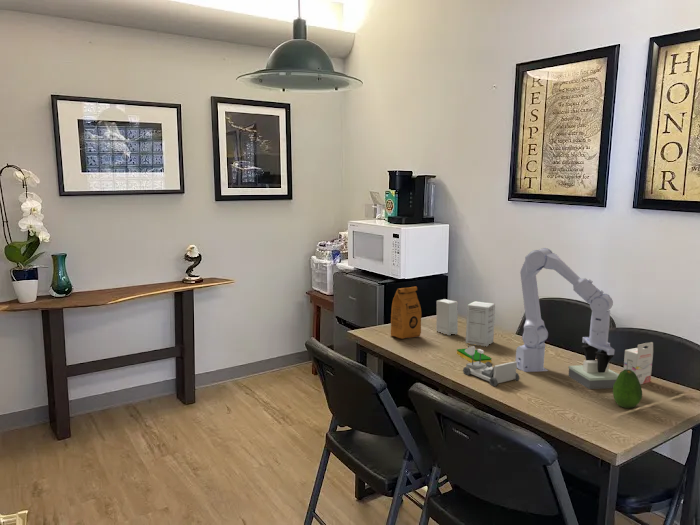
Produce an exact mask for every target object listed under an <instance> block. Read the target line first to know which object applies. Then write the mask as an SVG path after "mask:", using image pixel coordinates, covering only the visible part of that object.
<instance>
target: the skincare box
mask: <svg viewBox="0 0 700 525" xmlns="http://www.w3.org/2000/svg"><path fill="white" fill-rule="evenodd" d="M458 306H459V304H458V301H456V300H451V299H446V298H443V299H438V300H436V323H435V324H436V329H435V330H436V331H438V332H437V333H439V332H441V333H440V334H442V333H444V334H443V335H445V334H447V335H446V336H451V334H455V335H458V331H459V330H458V327H459V326H458V323H459V321H458V320H459V319H458V318H459V317H458V314H459V313H458V312H459V310H458V309H459V308H458Z"/></svg>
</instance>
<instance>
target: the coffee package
mask: <svg viewBox="0 0 700 525" xmlns="http://www.w3.org/2000/svg"><path fill="white" fill-rule="evenodd" d="M416 291H418V287H417V286H411V287H401V288H397V289H396V291H395V293H394V297H393V298H392V303H391V313H390V336H391V337H395V338H397V339H409V338H411V339H412V338H417V337H420V336H421V334H422V314H423V313H422V308H421V304H420V301H419V298H418V295H417V292H416Z"/></svg>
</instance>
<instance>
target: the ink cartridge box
mask: <svg viewBox="0 0 700 525" xmlns="http://www.w3.org/2000/svg"><path fill="white" fill-rule="evenodd" d="M645 347H646V348H645ZM623 358H624V359H623V360H624V361H623V370H625V369H628V370H631V371H633V372H634V373H635V374H636V376H637V378H638V380H639V382H640V385H643V384H647V383H651V379H652V370H653V368H652V367H653V358H654V342H653V341H650V342H645V343H641V344H640V343H639V344H637V347H635V348H629V349H625V350H624V357H623Z"/></svg>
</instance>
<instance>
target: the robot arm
mask: <svg viewBox="0 0 700 525" xmlns="http://www.w3.org/2000/svg"><path fill="white" fill-rule="evenodd" d="M543 269H546V270H554V271H556V272H557V274H559V275H560V276H561V277H563V278H564V279H566V281H568V282H569V284H571V285H572V288H573V291H574V292H575V293H576V294H577V295H578V296H579V297H580V298H582V299H583V300H584V301H585V302H586V303H587V304H589V308H590V310H591V316H590V326H589V336H582V342H581V343H583V344H582V345H581V349H582V351H583V353H584V356H585V360H597V362H598V372H599V373H604V372H605V370H606V367H607V365H608V363H609V364H610V361H611V360H612V358H613V357H614V356H615V351H616V350H615V349H614V348H613V347H612V346H611V342H609V332H610V323H611V322H610V320H611V309H612V307H613V306H614V305H613V304H614V301H613V298H612V297H611V296H610V295H609V293H604V291H603V290H600V289H599V288H597V286H596V285H595V284H593V280H591V279H587V278H586V277H584V278H582V277H580V276H579V275H578V274H577V273H575V271H574V270H572V269H571V267H570V266H568V265H567V264H566V263H565V261H564V260H562V259H561V258H560V257H559V255H558V254H556V253H555V252H553V251H552V250H551V249H550V248H546V247H542V248H540V249H534V250H533V249H532V250H531V251H530V252H529V253H527V255H526V256H525V257H524V262H523V264H522V267H521V268H520V272H519V273H520V281H521V288H522V289H521V291H522V298H523V305H524V314H525V322H524V324H523V332H522V336H521V337H522V339H521V340H522V342H523V344H522V345H519V346H517V347H516V350H515V362H517V366H516V369H518V370H519V371H523V372H524V373H528V372H529V373H532V372H535V373H536V372H548V371H549V369H547V368H545V367H544V366H545V365H544V364H545V351H546V350H545V349H546V343H545V341H547V339H548V337H549V332H548V329H547V328H546V325H545V321H544V320H543V319H542V316H541V315H542V314H541V306H540V305H541V304H540V298H539V289H538V280H537V275H538V274H539V273H540V272H541V271H542V270H543Z"/></svg>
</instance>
